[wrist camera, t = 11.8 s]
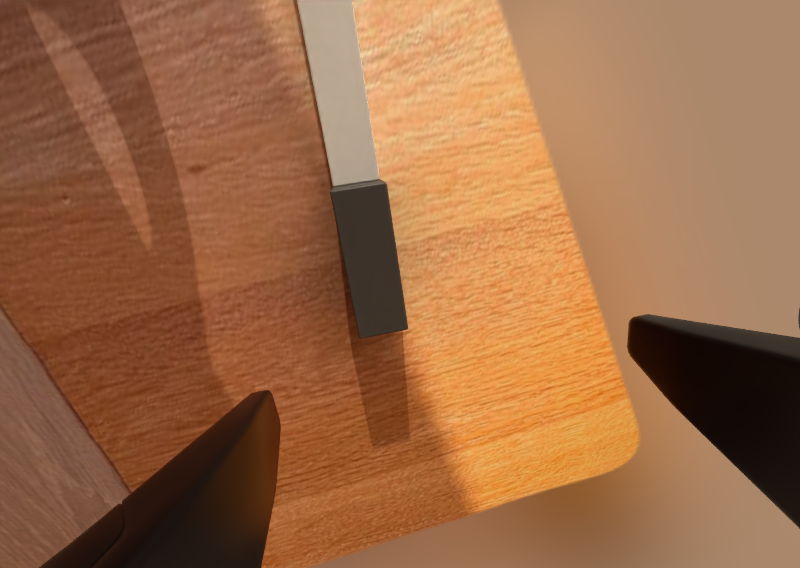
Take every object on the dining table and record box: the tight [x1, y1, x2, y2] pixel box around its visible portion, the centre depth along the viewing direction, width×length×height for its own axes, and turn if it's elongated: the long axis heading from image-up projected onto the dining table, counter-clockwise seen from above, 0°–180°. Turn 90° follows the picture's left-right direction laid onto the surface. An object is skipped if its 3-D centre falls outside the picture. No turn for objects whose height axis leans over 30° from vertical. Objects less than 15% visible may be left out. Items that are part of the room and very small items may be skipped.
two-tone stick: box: [297, 0, 408, 338], centre depth 16 cm, size 17×2×2 cm, turn 8°
